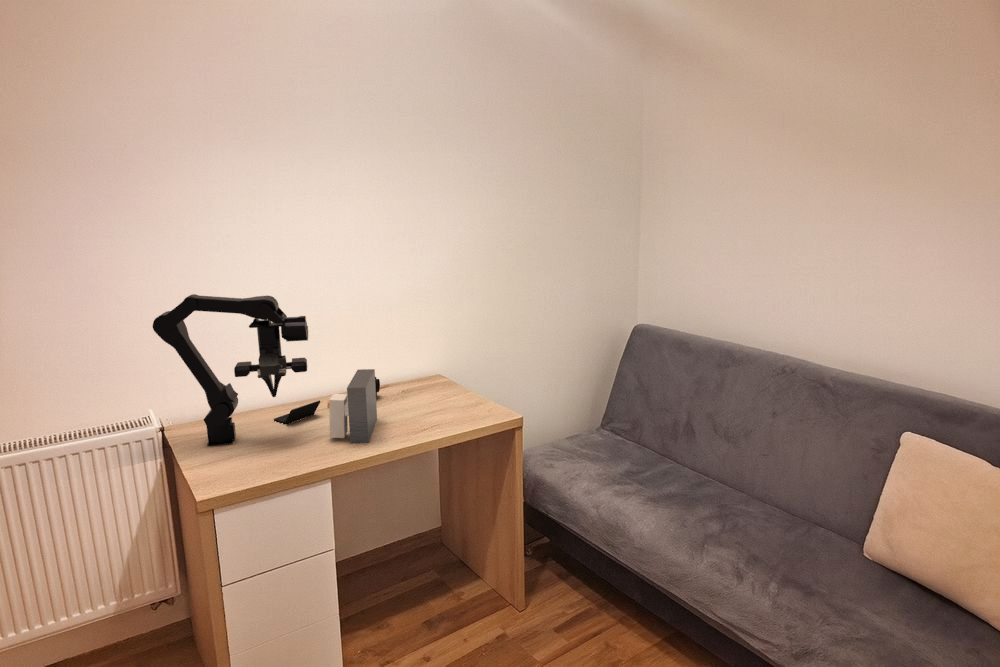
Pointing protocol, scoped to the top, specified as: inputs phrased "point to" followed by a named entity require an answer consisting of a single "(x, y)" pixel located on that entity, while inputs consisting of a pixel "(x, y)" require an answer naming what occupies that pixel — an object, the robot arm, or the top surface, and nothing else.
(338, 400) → the block
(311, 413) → the handheld gaming console
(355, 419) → the rail board
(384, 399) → the top surface
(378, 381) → the digital camera
